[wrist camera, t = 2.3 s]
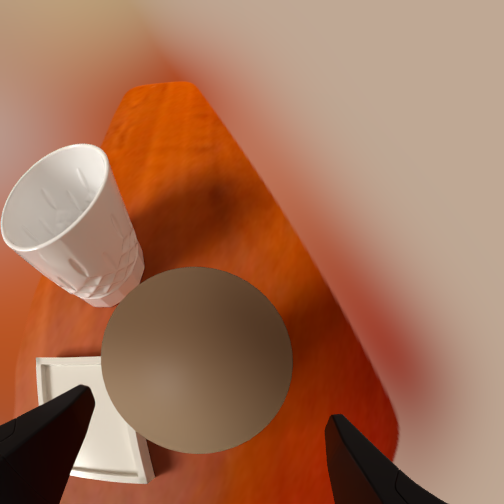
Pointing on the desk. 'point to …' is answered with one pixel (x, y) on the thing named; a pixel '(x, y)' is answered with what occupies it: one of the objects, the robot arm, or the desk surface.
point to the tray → (97, 423)
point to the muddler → (196, 360)
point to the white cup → (75, 225)
